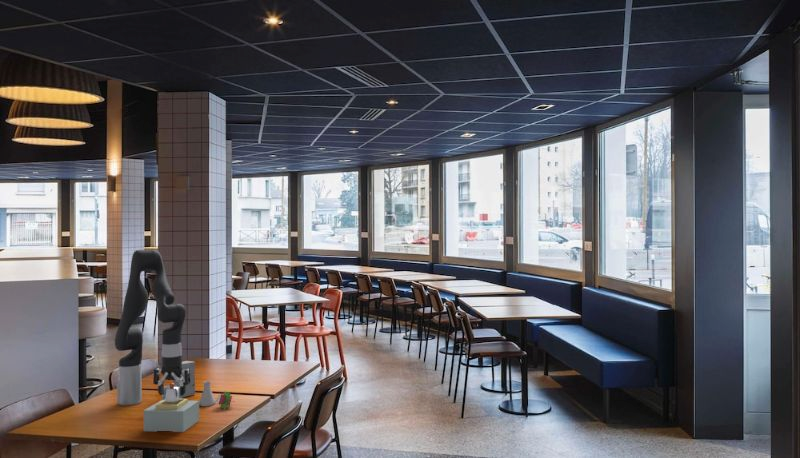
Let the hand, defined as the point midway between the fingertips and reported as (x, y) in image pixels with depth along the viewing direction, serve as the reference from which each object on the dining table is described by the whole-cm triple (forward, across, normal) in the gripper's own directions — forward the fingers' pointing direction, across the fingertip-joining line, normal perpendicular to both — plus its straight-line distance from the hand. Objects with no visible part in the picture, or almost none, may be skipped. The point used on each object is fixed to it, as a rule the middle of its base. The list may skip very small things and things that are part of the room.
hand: (171, 395), depth 231 cm
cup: (+12, -10, +20) cm, 26 cm away
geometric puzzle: (+12, +12, +25) cm, 30 cm away
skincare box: (+13, -15, +42) cm, 46 cm away
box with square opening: (+12, 0, 0) cm, 12 cm away
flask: (+13, +2, +29) cm, 32 cm away
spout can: (+6, 0, 0) cm, 6 cm away
